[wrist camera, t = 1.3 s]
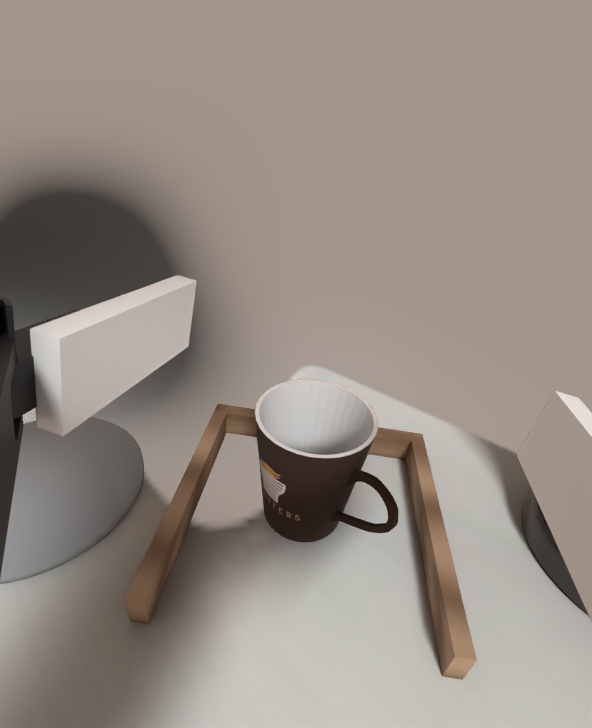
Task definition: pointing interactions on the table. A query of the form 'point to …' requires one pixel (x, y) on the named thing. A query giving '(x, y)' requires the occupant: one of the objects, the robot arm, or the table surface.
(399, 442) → the brown wooden open frame
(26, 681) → the table surface
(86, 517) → the mat
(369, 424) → the coffee mug
